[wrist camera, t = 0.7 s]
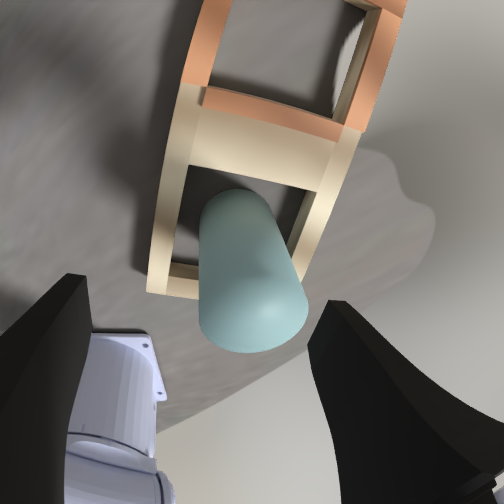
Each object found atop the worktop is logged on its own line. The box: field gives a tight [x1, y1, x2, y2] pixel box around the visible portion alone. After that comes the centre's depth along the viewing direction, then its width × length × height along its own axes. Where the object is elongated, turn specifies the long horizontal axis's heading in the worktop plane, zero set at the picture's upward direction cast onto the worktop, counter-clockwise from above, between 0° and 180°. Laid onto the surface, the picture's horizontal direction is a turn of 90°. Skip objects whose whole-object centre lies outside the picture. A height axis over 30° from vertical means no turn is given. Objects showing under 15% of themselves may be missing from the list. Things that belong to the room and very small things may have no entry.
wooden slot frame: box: [146, 0, 407, 300], centre depth 16 cm, size 21×10×2 cm, turn 164°
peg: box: [199, 189, 308, 353], centre depth 16 cm, size 4×4×8 cm
